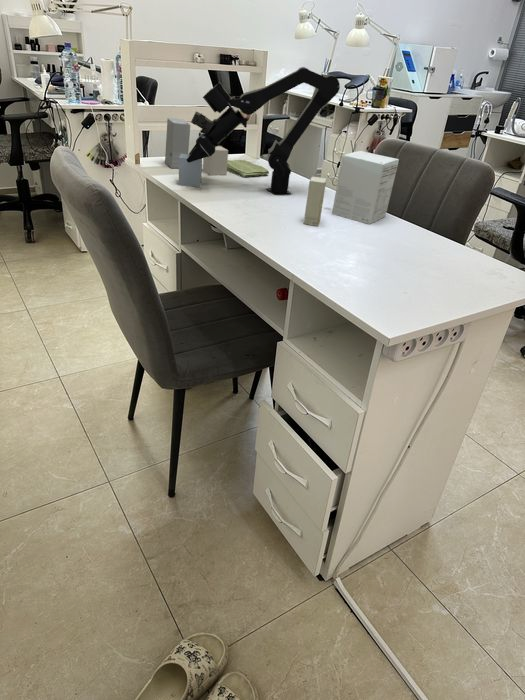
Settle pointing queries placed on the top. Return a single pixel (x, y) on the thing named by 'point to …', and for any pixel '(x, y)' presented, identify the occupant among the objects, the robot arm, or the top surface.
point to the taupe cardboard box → (216, 162)
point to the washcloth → (245, 168)
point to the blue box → (189, 171)
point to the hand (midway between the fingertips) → (188, 158)
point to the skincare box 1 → (176, 141)
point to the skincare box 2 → (314, 201)
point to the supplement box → (364, 186)
